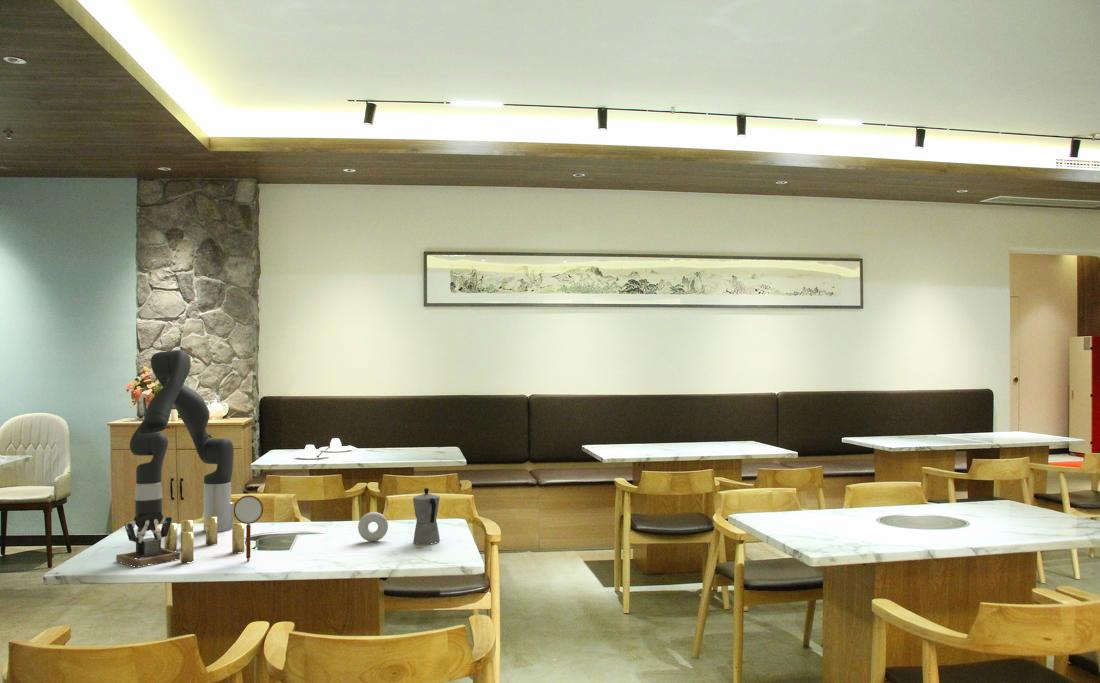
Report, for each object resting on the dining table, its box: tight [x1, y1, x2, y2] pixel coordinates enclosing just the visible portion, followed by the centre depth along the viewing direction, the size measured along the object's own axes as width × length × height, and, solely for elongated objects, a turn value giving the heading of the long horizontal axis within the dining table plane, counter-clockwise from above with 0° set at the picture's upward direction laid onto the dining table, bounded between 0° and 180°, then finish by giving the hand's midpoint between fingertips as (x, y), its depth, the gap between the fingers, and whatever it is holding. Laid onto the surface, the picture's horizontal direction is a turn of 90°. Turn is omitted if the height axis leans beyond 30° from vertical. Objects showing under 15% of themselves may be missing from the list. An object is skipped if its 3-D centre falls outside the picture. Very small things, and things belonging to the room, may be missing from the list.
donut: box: [357, 511, 389, 542], centre depth 276 cm, size 10×4×10 cm, turn 103°
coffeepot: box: [412, 487, 441, 545], centre depth 274 cm, size 15×9×18 cm, turn 26°
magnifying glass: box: [233, 494, 264, 562], centre depth 249 cm, size 9×2×20 cm, turn 99°
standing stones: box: [163, 516, 245, 564], centre depth 261 cm, size 22×23×9 cm
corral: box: [115, 547, 181, 568], centre depth 251 cm, size 13×13×2 cm
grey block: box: [138, 536, 160, 559], centre depth 251 cm, size 4×4×5 cm
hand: (148, 552), depth 251 cm, fingers closed on grey block, 4 cm apart
